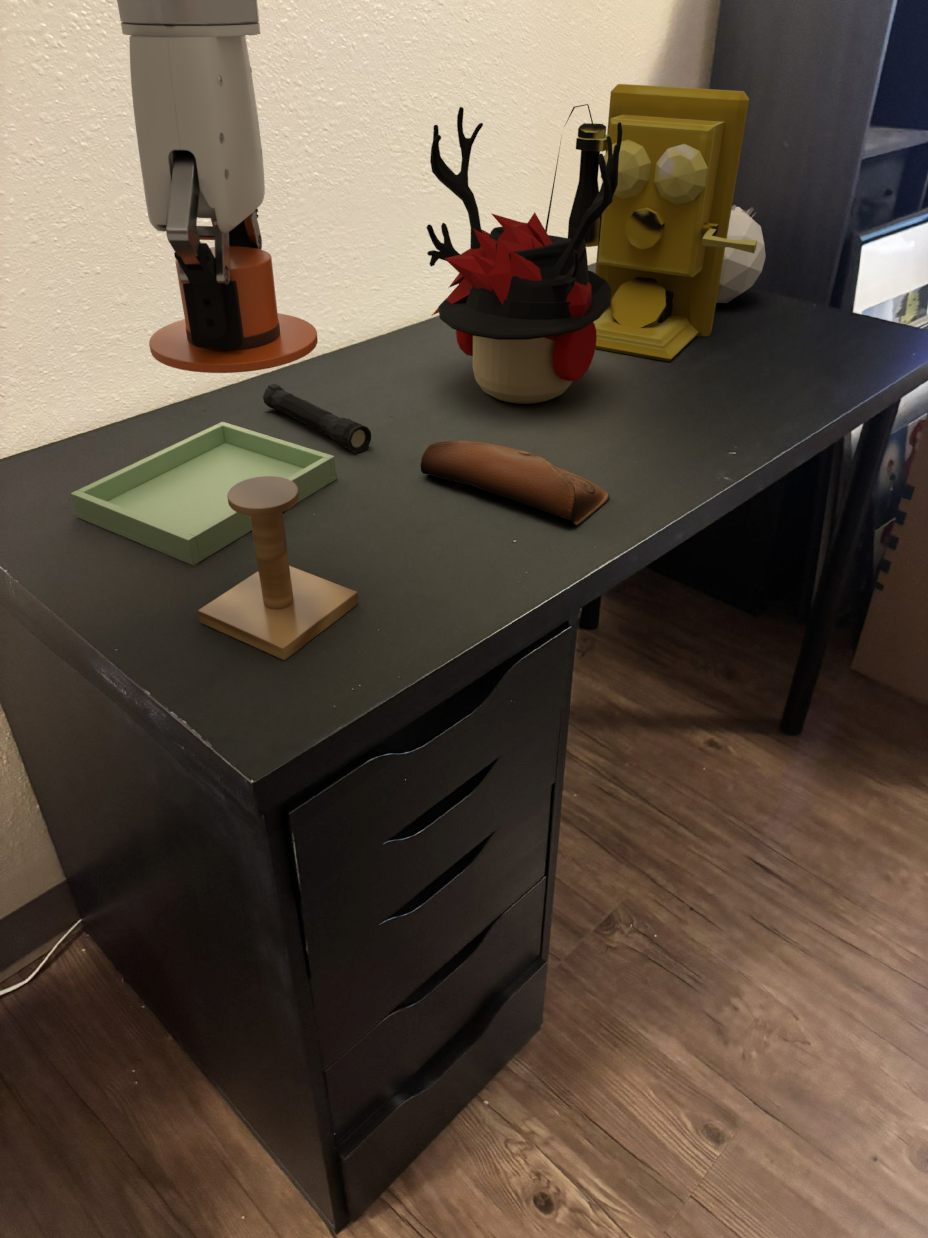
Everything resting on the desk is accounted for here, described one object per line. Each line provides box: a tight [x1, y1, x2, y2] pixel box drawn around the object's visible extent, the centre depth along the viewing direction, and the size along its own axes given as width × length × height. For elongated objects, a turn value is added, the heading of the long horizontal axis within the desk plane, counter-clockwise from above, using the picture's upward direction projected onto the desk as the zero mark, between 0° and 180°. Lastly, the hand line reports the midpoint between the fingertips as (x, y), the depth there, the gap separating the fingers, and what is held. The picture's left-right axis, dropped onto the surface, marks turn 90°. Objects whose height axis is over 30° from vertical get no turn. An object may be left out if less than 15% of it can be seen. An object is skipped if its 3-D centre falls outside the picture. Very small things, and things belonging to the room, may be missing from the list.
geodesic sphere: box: [716, 204, 767, 304], centre depth 138 cm, size 15×14×14 cm
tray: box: [70, 421, 337, 566], centre depth 89 cm, size 20×16×3 cm
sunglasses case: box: [420, 440, 610, 526], centre depth 90 cm, size 18×7×7 cm
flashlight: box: [262, 383, 372, 454], centre depth 102 cm, size 3×16×3 cm, turn 44°
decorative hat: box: [426, 106, 622, 405], centre depth 103 cm, size 23×21×30 cm
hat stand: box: [197, 476, 359, 661], centre depth 70 cm, size 9×9×11 cm
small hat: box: [148, 246, 319, 374], centre depth 60 cm, size 11×11×6 cm
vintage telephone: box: [544, 83, 757, 363], centre depth 119 cm, size 31×14×30 cm, turn 61°
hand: (232, 325), depth 61 cm, fingers closed on small hat, 6 cm apart
